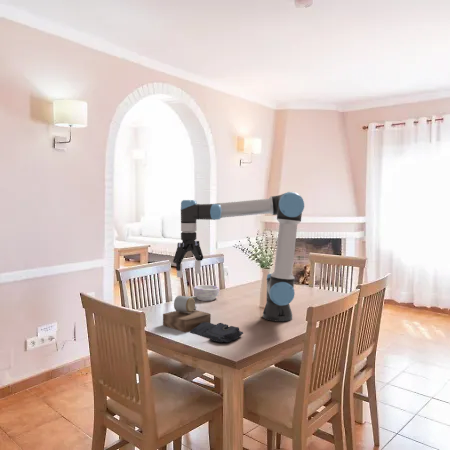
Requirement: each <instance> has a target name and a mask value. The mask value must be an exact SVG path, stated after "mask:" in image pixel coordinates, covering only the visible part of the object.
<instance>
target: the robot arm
mask: <svg viewBox="0 0 450 450" xmlns="http://www.w3.org/2000/svg"><path fill="white" fill-rule="evenodd" d="M304 209H305V201H304V199H303V197H302V196H301V195H300V194H299V193H297V192H295V191H287V192H285V193H281V194H279V195H273V196H272V195H271V196H270V197H269V198H262V199H251V200H250V199H249V200H239V201H234V202H233V201H231V202H230V201H229V202H220V203H203V204H202V203H201V204H200V203H197V200H195V199H183V200H181V202H180V240H181V242H177V247H176V251H175V254H174V255H173V256H174V257H173V260H172V263H174V264H175V266H176V278H180V279H182V278H183V263H182V262H183V259H184V258H185V256H186V254H187V253H188V252H191V253H192V256H194V258H195V260H194V274H196V275H199V274H201V262H202V261H203V259H204V255H203V251H202V249H201V246H200V240H197V220H204V221H205V220H206V221H209V220H211V221H212V220H213V221H216V220H221V219H222V218H231V217H232V218H233V217H235V218H236V217H244V216H245V217H246V216H257V215H268V214H270V215H271V216H276V220H277V221H278V222H279V223H278V224H279V225H278V231H277V232H278V233H277V243H276V251H275V262H274V269H273V270H274V271H273V272H272V273H268V274H267V275H266V301H265V302H266V303H265V306H264V307H263V312H262V318H263V319H265V320H268V321H270V322H288V321H291V320H293V312H292V309H291V305H290V303H291V302H292V301H293V300H294V298H295V295H296V294H295V289H294V288H295V287H294V286H295V280H296V278H295V276H294V275H293V268H294V260H295V259H294V258H295V250H296V241H297V234H298V233H297V230H298V225H299V224H300V223H301V222H302V218H303V217H302V215H303V213H304V212H303V211H304Z"/></svg>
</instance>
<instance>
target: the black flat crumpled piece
mask: <svg viewBox="0 0 450 450" xmlns="http://www.w3.org/2000/svg"><path fill="white" fill-rule="evenodd" d="M189 332H190V334H193V335H197V336H200V337H203V338H206V339H209V340H211V341H214V342H218V343H230V342H232V341H235V340H237V339H239V338H241V336H242V335H244V332H243V331H241V330H240V327H239V326H233V325H230V326H229V325H228V324H226V323H223V322H218V323H216V324H214V323H212V322H210V323H208V322H203V323H201V324H199V325H198V326H197V327H195V328H194V329H192V330H191V331H189Z"/></svg>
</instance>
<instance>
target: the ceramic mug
mask: <svg viewBox="0 0 450 450" xmlns="http://www.w3.org/2000/svg"><path fill="white" fill-rule="evenodd" d="M173 308H174V311H178V312H192V311H193V310H197V306H196V301H195V299H194V298H193V297H191V296H186V295H177V296H176V297H175V299H174V301H173Z"/></svg>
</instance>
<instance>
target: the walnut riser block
mask: <svg viewBox="0 0 450 450" xmlns="http://www.w3.org/2000/svg"><path fill="white" fill-rule="evenodd" d="M203 322H208V323H211V312H210V313H208V312H204V311H200V310H197V309H196V310H193V311H192V312H178V311H176V310H174V311H170V312H164V313H163V314H162V325H163V326H164V327H168V328H170V329H174V330H176V331H177V330H178V331H180V332H184V333H188V332H190V331H191V330H192V329H194V328H195V327H197V326H198V325H199V324H201V323H203Z"/></svg>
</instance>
